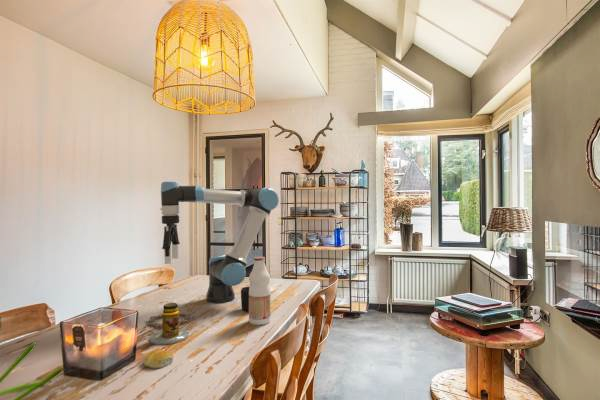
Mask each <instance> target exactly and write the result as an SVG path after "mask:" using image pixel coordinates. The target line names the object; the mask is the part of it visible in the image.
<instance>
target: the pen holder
mask: <svg viewBox="0 0 600 400" xmlns="http://www.w3.org/2000/svg"><path fill="white" fill-rule="evenodd" d="M249 287H250V286H244V287H242V288H241V290H240V303H241V305H240V306H241V310H242V311H243V312H248V313H249Z"/></svg>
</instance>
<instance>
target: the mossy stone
mask: <svg viewBox="0 0 600 400" xmlns="http://www.w3.org/2000/svg"><path fill="white" fill-rule="evenodd" d="M173 360H174V354H173V353H172V352H170V351H169V350H164V349H161V348H157V349H153V350H151V351H149V352H148V353H146V355H145V356H144V360H143V364H144V366H145V367H147V368H150V369H162V368H165V367H167V366H169V365H171V364H172V363H173Z"/></svg>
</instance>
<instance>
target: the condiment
mask: <svg viewBox="0 0 600 400" xmlns="http://www.w3.org/2000/svg"><path fill="white" fill-rule="evenodd" d="M179 312H180V311H179V304H178V303H175V302H169V303H166V304H164V305H163V310H162V313H161V314H162V318H161V322H162V323H161V324H162V328H161V329H162V330H161V331H162V333H161V334H159V335H157V336H156V337H154V338H161V339H171V340H173V339H175V338H177V337H178V336H180V335H181V334H182V333H184V332H179V329H180V326H179V321H180V316H179Z"/></svg>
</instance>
